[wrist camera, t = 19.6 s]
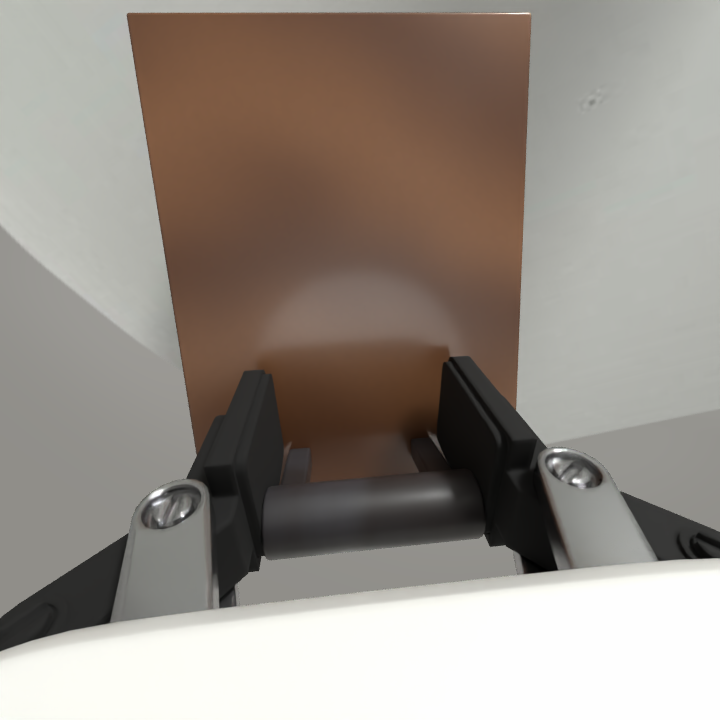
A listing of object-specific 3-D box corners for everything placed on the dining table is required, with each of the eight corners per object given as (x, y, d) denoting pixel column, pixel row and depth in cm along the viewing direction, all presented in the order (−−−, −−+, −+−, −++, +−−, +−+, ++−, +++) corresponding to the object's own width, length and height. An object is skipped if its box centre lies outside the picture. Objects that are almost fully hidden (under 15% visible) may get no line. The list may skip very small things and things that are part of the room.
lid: (503, 479, 13) (597, 584, 8) (214, 506, 12) (143, 637, 8) (517, 31, 10) (674, -185, 6) (141, 33, 10) (-42, -213, 5)
